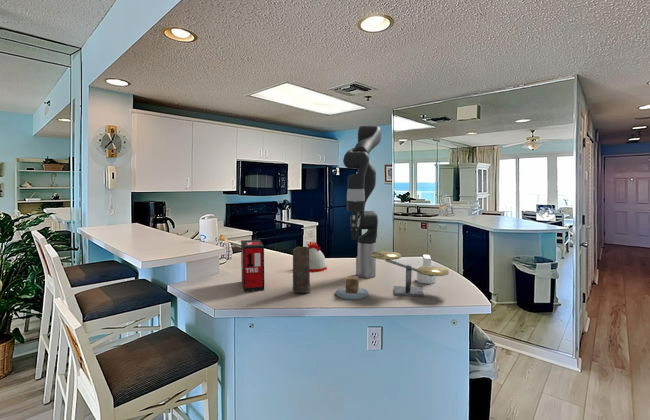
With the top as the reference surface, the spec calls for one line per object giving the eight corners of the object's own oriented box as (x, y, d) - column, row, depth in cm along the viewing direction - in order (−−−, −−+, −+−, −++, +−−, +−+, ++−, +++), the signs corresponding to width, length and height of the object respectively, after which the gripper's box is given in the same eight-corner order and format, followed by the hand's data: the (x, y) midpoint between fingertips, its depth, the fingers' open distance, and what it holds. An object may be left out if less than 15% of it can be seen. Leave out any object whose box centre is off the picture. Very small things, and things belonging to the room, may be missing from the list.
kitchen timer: (312, 264, 203) (312, 239, 202) (331, 268, 195) (331, 241, 194) (296, 269, 192) (296, 242, 191) (316, 273, 184) (316, 245, 183)
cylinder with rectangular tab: (436, 284, 166) (437, 259, 165) (417, 282, 167) (417, 258, 166) (434, 278, 174) (435, 255, 173) (416, 277, 176) (416, 254, 175)
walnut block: (345, 292, 148) (345, 278, 147) (347, 289, 153) (347, 275, 152) (357, 293, 147) (357, 279, 146) (358, 290, 152) (358, 276, 151)
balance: (369, 294, 149) (370, 256, 148) (370, 285, 162) (371, 250, 161) (450, 299, 144) (451, 259, 142) (445, 289, 156) (446, 253, 155)
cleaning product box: (241, 281, 169) (241, 240, 167) (260, 280, 171) (259, 239, 169) (243, 292, 153) (243, 246, 151) (264, 290, 155) (263, 245, 154)
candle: (303, 296, 147) (302, 249, 146) (289, 293, 151) (288, 247, 149) (313, 291, 154) (313, 246, 152) (299, 288, 158) (299, 244, 156)
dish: (328, 294, 150) (328, 291, 150) (350, 287, 160) (350, 284, 160) (353, 302, 140) (353, 299, 140) (375, 294, 150) (375, 291, 150)
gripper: (348, 198, 155) (348, 234, 156) (344, 200, 141) (344, 240, 142) (365, 198, 153) (365, 235, 155) (363, 200, 139) (362, 241, 141)
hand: (355, 237), depth 149 cm, fingers open, 8 cm apart
